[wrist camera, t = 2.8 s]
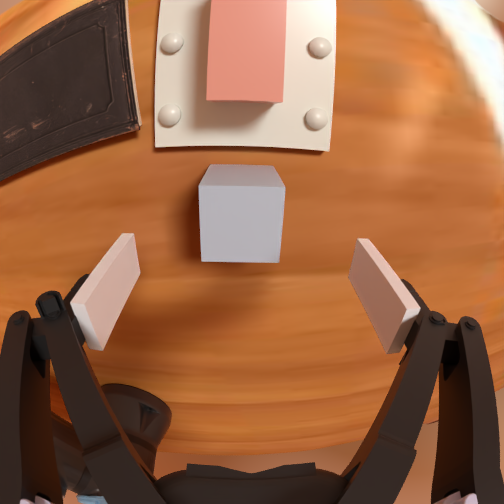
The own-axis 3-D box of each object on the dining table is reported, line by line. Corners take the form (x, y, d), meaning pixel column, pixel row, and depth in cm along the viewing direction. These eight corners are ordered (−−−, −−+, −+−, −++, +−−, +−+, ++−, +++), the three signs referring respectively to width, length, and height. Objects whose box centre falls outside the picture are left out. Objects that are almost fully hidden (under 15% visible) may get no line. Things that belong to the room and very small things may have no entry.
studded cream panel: (158, 145, 25) (137, 156, 20) (168, -33, 16) (153, -60, 10) (325, 149, 26) (347, 161, 20) (331, -27, 17) (351, -52, 11)
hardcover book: (146, 127, 25) (138, 129, 23) (-1, 181, 25) (-11, 186, 23) (131, -8, 17) (123, -15, 15) (-15, 74, 18) (-26, 75, 16)
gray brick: (210, 222, 29) (201, 261, 22) (210, 164, 26) (198, 185, 19) (269, 223, 29) (279, 262, 22) (273, 165, 27) (285, 187, 20)
